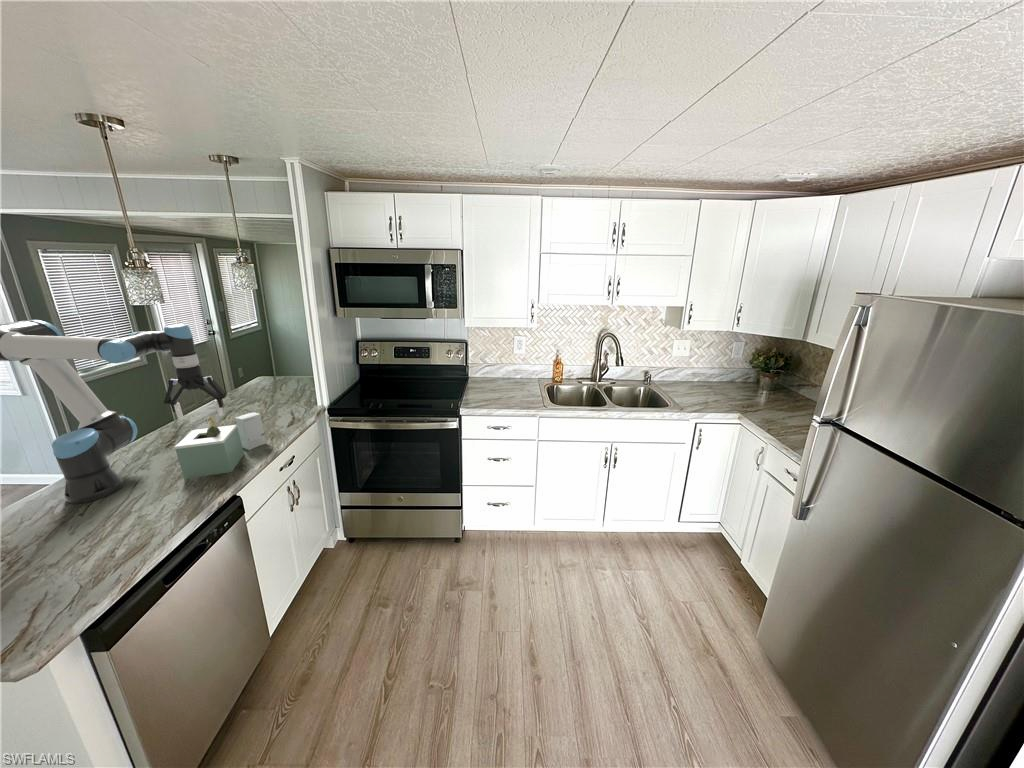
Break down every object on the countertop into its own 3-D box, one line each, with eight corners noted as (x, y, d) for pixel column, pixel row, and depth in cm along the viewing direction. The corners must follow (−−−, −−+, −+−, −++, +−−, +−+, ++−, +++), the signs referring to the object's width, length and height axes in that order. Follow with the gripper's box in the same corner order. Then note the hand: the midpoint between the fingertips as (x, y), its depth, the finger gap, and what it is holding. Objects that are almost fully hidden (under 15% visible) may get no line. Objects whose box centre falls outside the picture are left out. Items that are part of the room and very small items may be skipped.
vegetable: (222, 462, 168) (222, 416, 163) (215, 466, 163) (215, 420, 159) (211, 460, 167) (211, 415, 163) (204, 465, 163) (203, 418, 159)
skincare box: (248, 450, 178) (241, 420, 174) (241, 447, 181) (233, 417, 176) (267, 443, 185) (260, 413, 180) (260, 440, 188) (253, 411, 183)
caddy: (184, 478, 156) (174, 446, 152) (201, 459, 171) (192, 430, 167) (231, 472, 161) (222, 440, 156) (244, 453, 175) (236, 424, 171)
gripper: (142, 371, 145) (158, 424, 152) (221, 365, 152) (234, 416, 159) (153, 365, 152) (168, 417, 159) (228, 360, 159) (240, 410, 166)
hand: (201, 417), depth 159 cm, fingers open, 13 cm apart
